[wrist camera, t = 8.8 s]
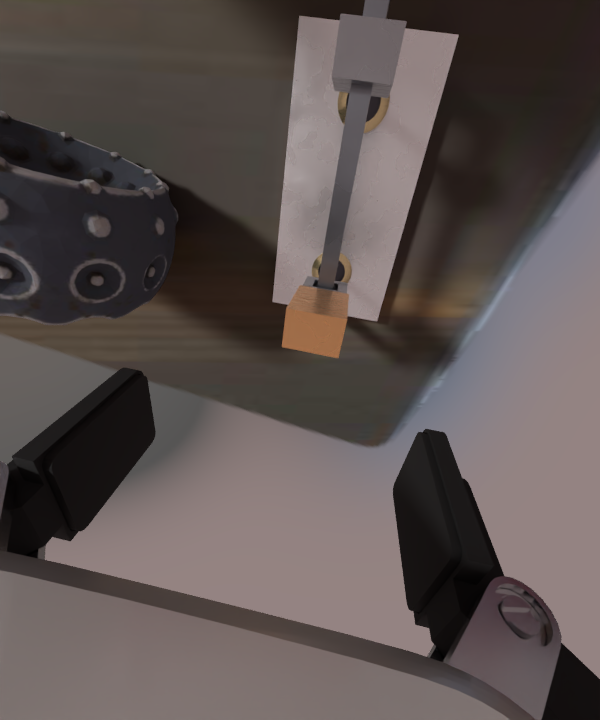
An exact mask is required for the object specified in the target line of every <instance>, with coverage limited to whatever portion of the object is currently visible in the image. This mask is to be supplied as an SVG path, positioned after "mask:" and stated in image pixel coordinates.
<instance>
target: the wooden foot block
mask: <svg viewBox="0 0 600 720" xmlns="http://www.w3.org/2000/svg"><path fill="white" fill-rule="evenodd" d="M318 279H319V278H317V277H311V276H307V278H306V280H305V282H304V284H303V285H300V286H299V287H298V289H297V291H296V293H295V294H294V296H293V298H292V299H291V301H290V303H289V305H288V306H287V308H286V315H285V324H284V332H283V341H282V347H284V348H289V349H294V350H299V351H304V352H309V353H314V354H319V355H325V356H330V357H335V358H338V357H339V353H340V349H341V344H342V340H343V336H344V331H345V327H346V323H347V315H348V301H349V294H347V285H348V283H345V282H339V281H335V282H334V287H333V290H331V289H325V288H320V287H317V285H318Z"/></svg>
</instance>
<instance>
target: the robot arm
mask: <svg viewBox="0 0 600 720" xmlns="http://www.w3.org/2000/svg"><path fill="white" fill-rule="evenodd" d="M154 437H155V426H154V419H153V413H152V406H151V400H150V393H149V387H148V380H147V377H146V376H144V375H143V373H142V371H139V370H134V369H129V368H122V369H120V370H119V371H117V372H116V373H115V374H114V375H112V376H111V377H110V378H109V379H108V380H106V381H105V382H104V383H103V384H101V385H100V386H99V387H98V388H96V389H95V390H94V391H93V392H92V393H90V394H89V395H88V396H86V397H85V398H84V399H83V400H82V401H80V402H79V403H78V404H76V405H75V406H74V407H73V408H71V409H70V410H69V411H68V412H66V413H65V414H64V415H63V416H62V417H60V418H59V419H58V420H57V421H55V422H54V423H53V424H51V425H50V426H49V427H48V428H47V429H45V430H44V431H43V432H42V433H40V434H39V435H38V436H37V437H35V438H34V439H33V440H32V441H30V442H29V443H28V444H27V445H25V446H24V447H23V448H22V449H20V450H19V451H18V452H17V453H15V454H14V455H13V456H12V458H13V460H12V461H11V462H10V463H9V464H7V465H6V464H5V463H4V462H1V461H0V720H600V679H599V678H598V677H597V676H596V675H595V674H594V673H593V672H592V671H590V670H589V669H588V668H587V667H586V666H585V665H584V664H583V663H582V662H581V661H580V660H579V659H578V658H577V657H576V656H575V655H574V654H573V653H572V652H571V651H569V650H568V649H567V648H566V647H565V646H564V645H563V644H562V643H561V633H560V629H559V626H558V623H557V621H556V619H555V618H554V615H553V614H552V611H551V610H550V609H549V607H548V606H547V605H546V603H545V602H544V601H543V599H541V597H539V596H538V595H537V594H536V593H535V592H534V591H533V590H532V589H531V588H529V587H528V586H527V585H525V584H524V583H522V582H520V581H518V580H516V579H514V578H511V577H505V576H504V574H503V572H502V569H501V566H500V564H499V561H498V558H497V556H496V553H495V551H494V548H493V546H492V543H491V540H490V538H489V535H488V532H487V530H486V527H485V524H484V522H483V519H482V517H481V514H480V511H479V509H478V506H477V504H476V501H475V498H474V496H473V493H472V491H471V488H470V486H469V484H468V482H467V481H466V480H465V479H463V478H462V477H461V474H460V471H459V469H458V466H457V463H456V460H455V458H454V455H453V452H452V450H451V447H450V444H449V441H448V439H447V436H446V434H445V433H444V432H439V431H434V430H429V429H425V430H424V431H423V433H422V432H418V434H417V435H416V437H415V440H414V442H413V444H412V446H411V448H410V451H409V453H408V455H407V457H406V459H405V462H404V464H403V466H402V468H401V470H400V473H399V475H398V477H397V479H396V481H395V483H394V488H393V498H394V506H395V514H396V521H397V529H398V537H399V545H400V553H401V561H402V568H403V576H404V584H405V592H406V600H407V605H408V608H409V610H411V611H414V618H415V624H416V625H419V626H423V627H427V628H429V629H430V635H431V640H432V642H433V643H434V645H433V647H432V649H431V651H430V652H429V654H428V656H427V657H425V656H422V655H419V654H416V653H413V652H410V651H406V650H403V649H399V648H395V647H392V646H388V645H384V644H381V643H377V642H373V641H370V640H366V639H362V638H359V637H355V636H351V635H348V634H344V633H340V632H336V631H332V630H328V629H324V628H320V627H316V626H312V625H308V624H304V623H300V622H296V621H292V620H288V619H284V618H280V617H276V616H272V615H268V614H264V613H261V612H256V611H252V610H248V609H244V608H240V607H236V606H232V605H228V604H224V603H220V602H216V601H212V600H208V599H204V598H200V597H196V596H192V595H187V594H184V593H180V592H176V591H171V590H168V589H164V588H159V587H155V586H151V585H147V584H143V583H139V582H135V581H131V580H126V579H122V578H118V577H114V576H110V575H106V574H102V573H98V572H93V571H89V570H85V569H81V568H77V567H73V566H68V565H64V564H60V563H56V562H51V561H47V560H45V547H46V544H47V542H48V541H49V540H50V539H51V538H52V537H56V538H59V539H63V540H68V541H71V540H72V539H73V538H74V536H75V535H76V534H77V533H78V531H82V530H84V529H85V528H86V527H87V526H88V525H89V523H90V522H91V521H92V520H93V518H94V517H95V516H96V515H97V513H98V512H99V511H100V509H101V508H102V507H103V505H104V504H105V503H106V502H107V500H108V499H109V497H110V496H111V495H112V494H113V493H114V491H115V490H116V489H117V487H118V486H119V485H120V483H121V482H122V481H123V480H124V478H125V477H126V475H127V474H128V473H129V472H130V470H131V469H132V468H133V467H134V465H135V464H136V463H137V461H138V460H139V459H140V458H141V456H142V455H143V454H144V452H145V451H146V450H147V448H148V447H149V446H150V445H151V443H152V442H153V440H154Z"/></svg>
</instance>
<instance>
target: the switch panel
mask: <svg viewBox="0 0 600 720" xmlns="http://www.w3.org/2000/svg"><path fill="white" fill-rule="evenodd" d="M389 5H390V0H365V4H364V10H363V16H358V15H350V14H341V15H340V20H331V19H323V18H315V17H306V16H299V25H298V35H297V46H296V57H295V67H294V78H293V89H292V99H291V110H290V120H289V131H288V142H287V152H286V163H285V173H284V184H283V195H282V205H281V216H280V226H279V237H278V248H277V258H276V269H275V279H274V290H273V301H272V302H276V303H281V304H286V305H289V303H290V301H291V299H292V298H293V296H294V294H295V293H296V291H297V289H298V287H299V286H300V285H303V284H304V282H305V280H306V278H307V276H311V277H317V278H319V279H318V285H317V287H320V288H325V289H331V290H333V287H334V282H335V281H339V282H345V283H348V285H347V294H349V301H348V315H347V316H350V317H355V318H361V319H366V320H371V321H377V320H378V317H379V313H380V310H381V306H382V303H383V299H384V296H385V292H386V289H387V285H388V282H389V278H390V275H391V271H392V268H393V264H394V261H395V257H396V254H397V250H398V247H399V243H400V240H401V236H402V233H403V229H404V226H405V222H406V219H407V215H408V212H409V208H410V205H411V201H412V198H413V194H414V191H415V187H416V184H417V180H418V177H419V173H420V170H421V166H422V163H423V159H424V156H425V152H426V149H427V145H428V142H429V138H430V135H431V131H432V128H433V124H434V121H435V117H436V114H437V110H438V107H439V103H440V100H441V96H442V93H443V89H444V86H445V82H446V79H447V75H448V72H449V68H450V65H451V61H452V58H453V54H454V51H455V47H456V44H457V40H458V37H459V35H457V34H448V33H440V32H432V31H423V30H415V29H407V28H405V27H406V23H407V21H401V20H392V19H387V16H388V10H389Z"/></svg>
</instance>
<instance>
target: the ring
mask: <svg viewBox="0 0 600 720" xmlns="http://www.w3.org/2000/svg"><path fill="white" fill-rule="evenodd" d="M168 192H169V187H168V186H167V184H166V183H164V182H162V181H161V180H160V179H159V178H158V177H156V175H155V173H154V171H153V170H151V169H144V168H142V167H140V166H138V165H136V164H134V163H132V162H130V161H128V160H126V159H124V158H122V156H121V155H120V154H119V153H117V152H108V151H106V150H103V149H101V148H98V147H96V146H93V145H91V144H88V143H86V142H83V141H80V140H78V139H75V138H73V137H72V136H71V135H70V134H69V133H66V132H55V131H51V130H49V129H46V128H43V127H40V126H37V125H34V124H31V123H28V122H24V121H21V120H18V119H15V118H12V117H10V116H9V115H8V114H6V113H5V112H3V111H0V316H4V315H5V316H13V317H20V318H26V319H29V320H33V321H36V322H39V323H42V324H45V325H67V324H69V323H72V322H75V321H79V320H82V319H86V318H92V317H102V318H107V319H116V318H120V317H123V316H125V315H127V314H128V313H130V312H131V311H133V310H134V309H136V308H138V307H139V306H141V305H143V304H147V303H148V302H149V301H150V300H151V299H152V298H153V297H154V296H155V295H156V293H157V292H158V290H159V289H160V287H161V286H162V284H163V283H164V280H165V278H166V276H167V274H168V271H169V269H170V265H171V261H172V258H173V253H174V248H175V226H176V223H177V221H178V213H177V211H176V209H175V208H174V206H173V205H172V204H171V201H170V197H169V194H168Z"/></svg>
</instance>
